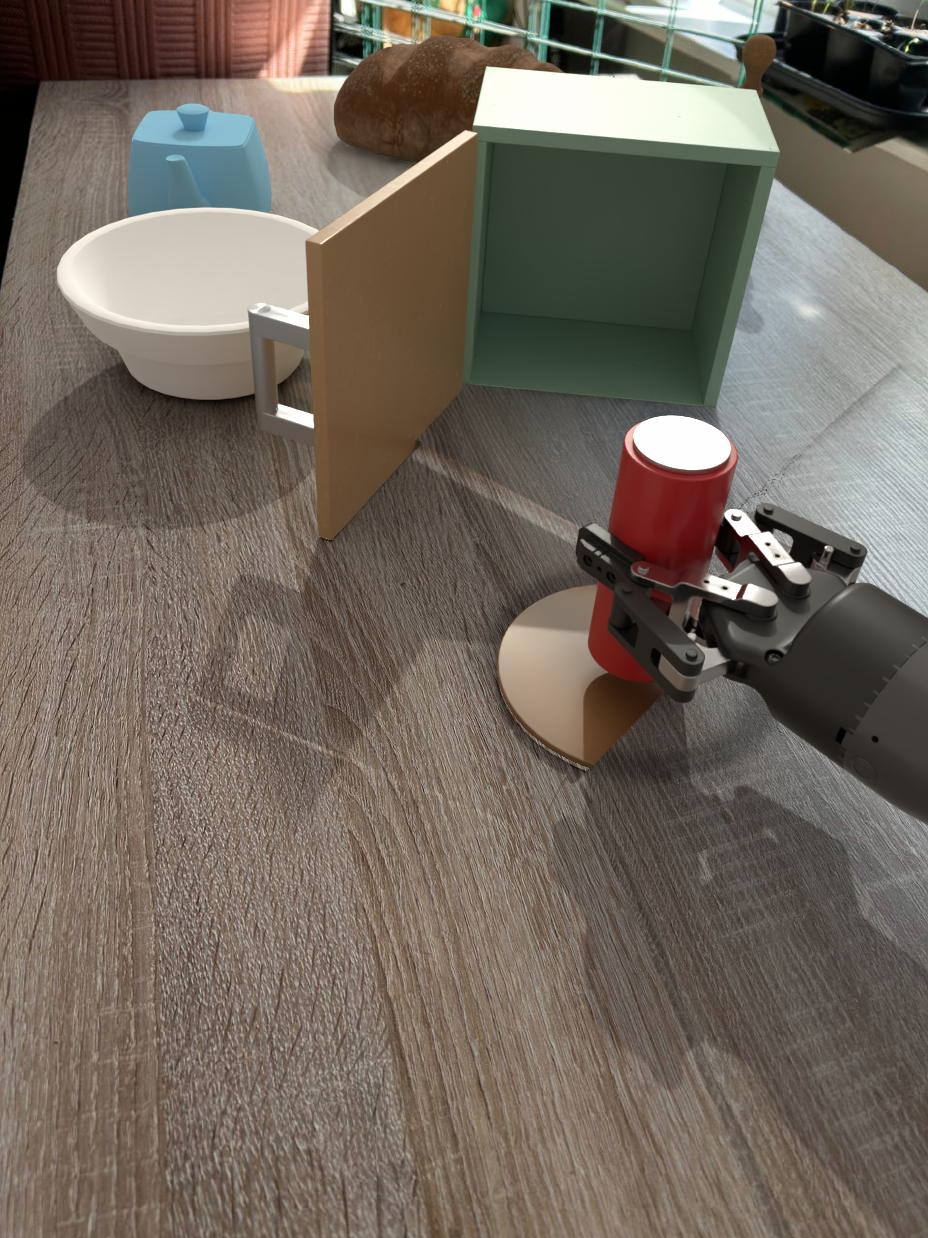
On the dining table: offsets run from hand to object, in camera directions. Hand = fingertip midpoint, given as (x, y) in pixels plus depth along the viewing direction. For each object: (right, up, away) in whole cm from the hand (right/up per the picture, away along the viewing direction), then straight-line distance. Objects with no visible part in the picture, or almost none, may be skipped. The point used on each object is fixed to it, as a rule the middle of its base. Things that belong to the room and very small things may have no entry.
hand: (623, 518), depth 55 cm
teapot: (-33, +30, +45) cm, 63 cm away
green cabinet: (+2, +16, +32) cm, 36 cm away
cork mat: (+1, -9, +6) cm, 10 cm away
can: (+1, -7, +4) cm, 8 cm away
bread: (-8, +48, +66) cm, 82 cm away
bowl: (-28, +15, +29) cm, 43 cm away
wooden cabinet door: (-15, +7, +21) cm, 27 cm away
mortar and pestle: (+18, +35, +54) cm, 67 cm away
